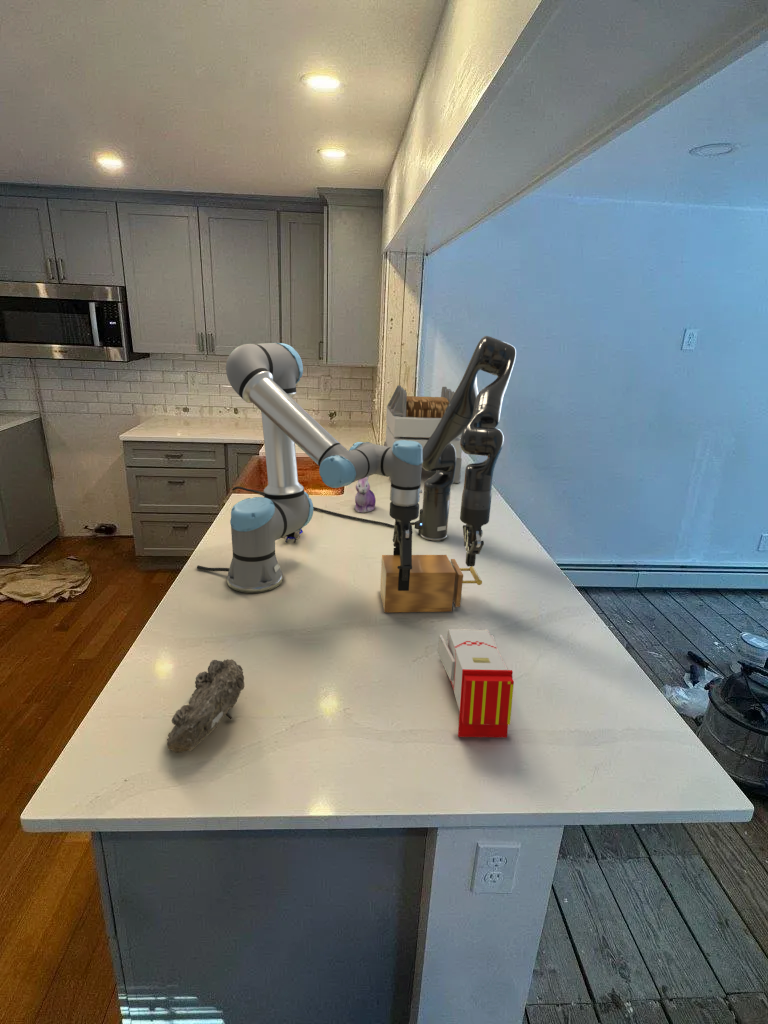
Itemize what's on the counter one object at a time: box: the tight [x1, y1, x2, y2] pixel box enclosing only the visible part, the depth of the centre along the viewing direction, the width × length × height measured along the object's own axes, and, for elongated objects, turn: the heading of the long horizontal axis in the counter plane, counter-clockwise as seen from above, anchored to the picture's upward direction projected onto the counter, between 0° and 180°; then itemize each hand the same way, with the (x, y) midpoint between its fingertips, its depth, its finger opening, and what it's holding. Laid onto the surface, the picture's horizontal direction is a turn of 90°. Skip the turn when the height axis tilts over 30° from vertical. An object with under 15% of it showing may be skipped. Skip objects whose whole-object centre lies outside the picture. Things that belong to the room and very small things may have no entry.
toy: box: [437, 628, 515, 738], centre depth 117 cm, size 12×13×30 cm
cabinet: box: [379, 554, 455, 613], centre depth 152 cm, size 18×11×12 cm, turn 96°
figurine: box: [354, 476, 376, 513], centre depth 220 cm, size 9×10×15 cm
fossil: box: [166, 658, 245, 754], centre depth 106 cm, size 22×10×15 cm
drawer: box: [449, 558, 483, 608], centre depth 153 cm, size 22×10×9 cm, turn 96°
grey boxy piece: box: [383, 384, 463, 484], centre depth 268 cm, size 34×33×41 cm
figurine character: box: [281, 528, 304, 544], centre depth 192 cm, size 7×8×15 cm
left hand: (400, 579), depth 151 cm, fingers closed on cabinet, 11 cm apart
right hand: (469, 565), depth 152 cm, fingers closed
